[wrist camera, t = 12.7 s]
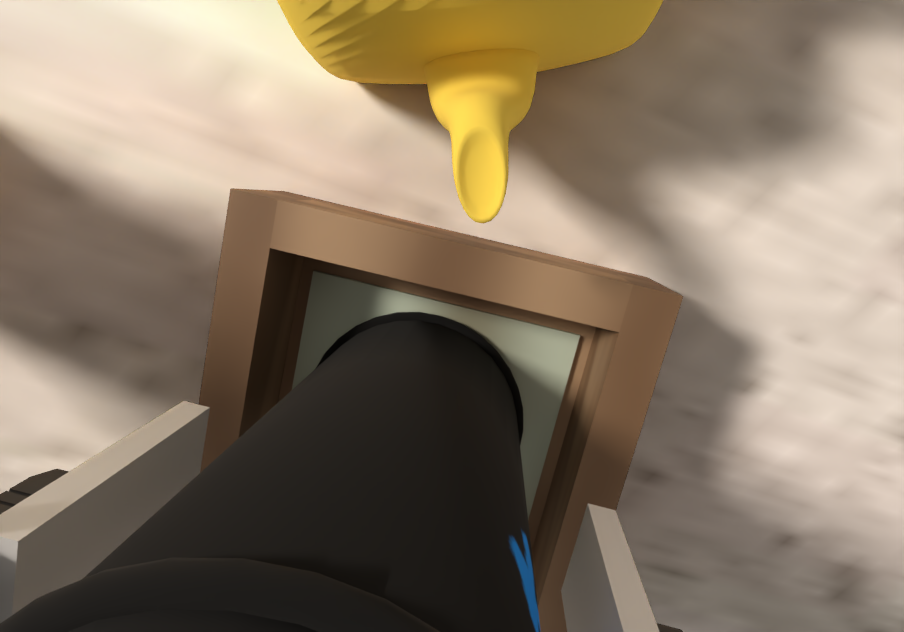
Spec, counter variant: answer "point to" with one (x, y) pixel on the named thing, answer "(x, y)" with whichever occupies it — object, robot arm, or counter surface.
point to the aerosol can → (340, 507)
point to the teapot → (467, 62)
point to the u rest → (457, 298)
